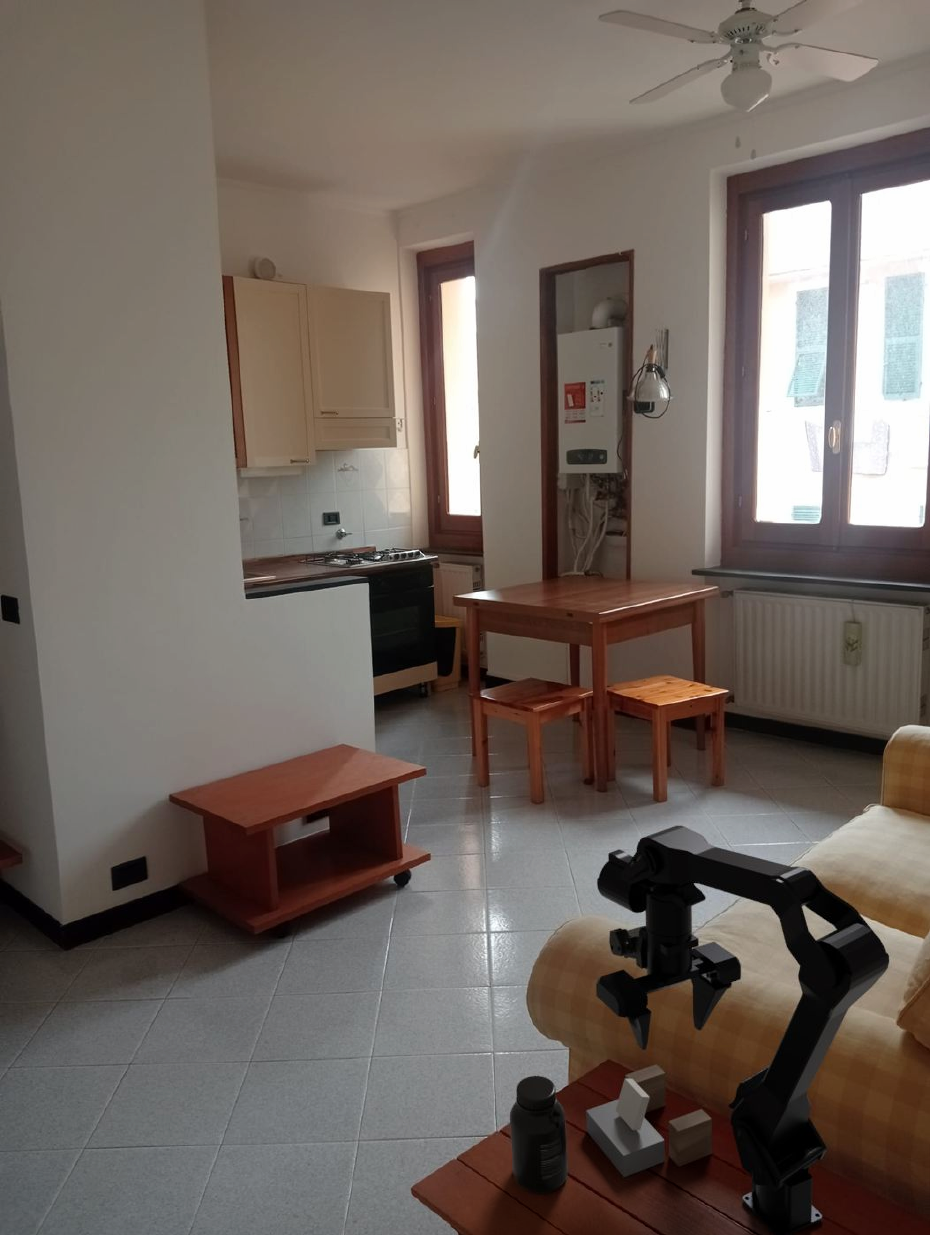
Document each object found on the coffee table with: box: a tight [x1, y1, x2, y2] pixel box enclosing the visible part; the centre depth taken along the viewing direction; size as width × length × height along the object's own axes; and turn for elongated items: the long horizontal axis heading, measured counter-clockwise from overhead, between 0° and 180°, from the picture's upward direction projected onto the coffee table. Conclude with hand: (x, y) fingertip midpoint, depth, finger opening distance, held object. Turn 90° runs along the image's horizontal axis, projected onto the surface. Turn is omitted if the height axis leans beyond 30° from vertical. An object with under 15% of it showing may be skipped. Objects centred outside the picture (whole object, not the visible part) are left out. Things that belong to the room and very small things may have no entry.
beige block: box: [668, 1108, 713, 1167], centre depth 119 cm, size 2×5×5 cm, turn 113°
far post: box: [624, 1064, 666, 1114], centre depth 129 cm, size 2×5×5 cm, turn 113°
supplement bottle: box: [509, 1075, 569, 1194], centre depth 117 cm, size 7×7×12 cm
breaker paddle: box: [616, 1078, 650, 1130], centre depth 121 cm, size 4×1×4 cm, turn 23°
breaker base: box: [585, 1098, 666, 1178], centre depth 122 cm, size 9×6×3 cm, turn 23°
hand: (670, 1038), depth 123 cm, fingers open, 8 cm apart
